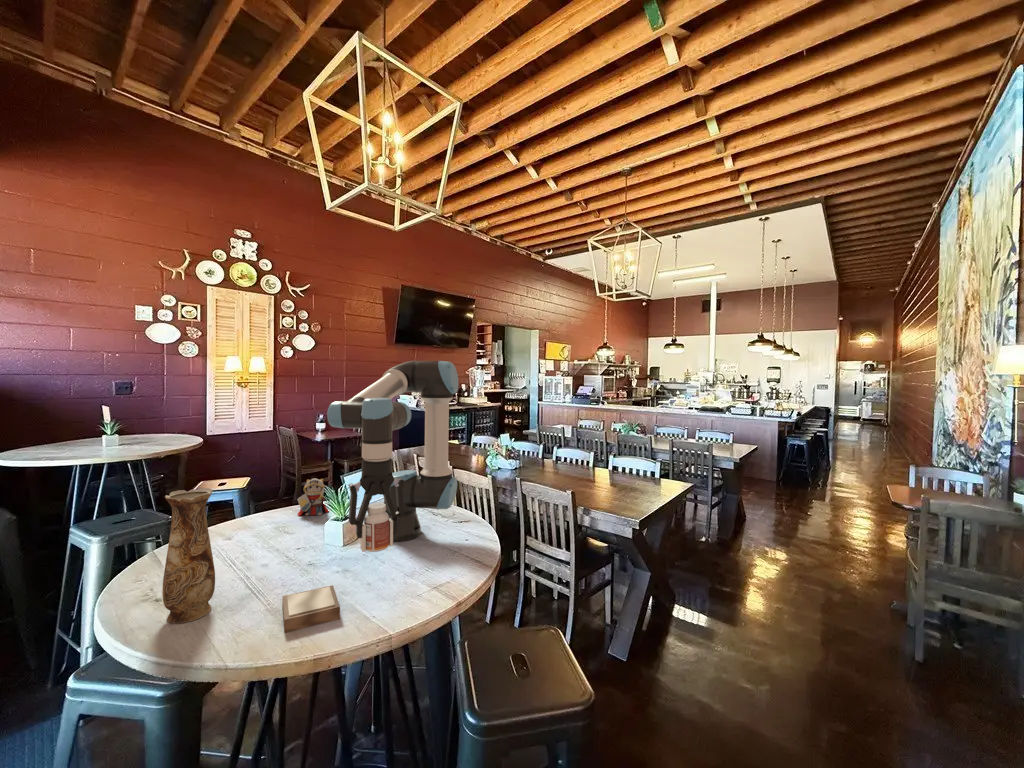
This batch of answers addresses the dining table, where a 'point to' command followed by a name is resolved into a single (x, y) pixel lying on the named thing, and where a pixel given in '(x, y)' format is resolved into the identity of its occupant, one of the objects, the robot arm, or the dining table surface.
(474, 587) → the dining table surface
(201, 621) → the dining table surface
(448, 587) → the dining table surface
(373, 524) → the pill bottle
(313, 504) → the figurine
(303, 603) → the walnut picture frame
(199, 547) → the vase
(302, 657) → the dining table surface
